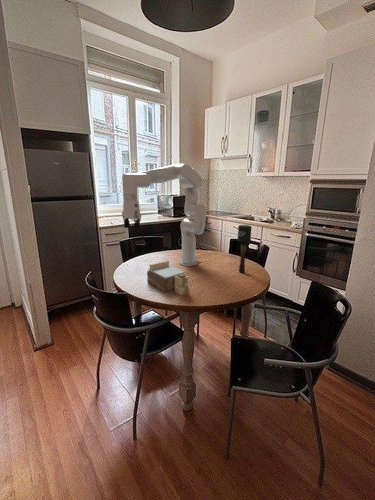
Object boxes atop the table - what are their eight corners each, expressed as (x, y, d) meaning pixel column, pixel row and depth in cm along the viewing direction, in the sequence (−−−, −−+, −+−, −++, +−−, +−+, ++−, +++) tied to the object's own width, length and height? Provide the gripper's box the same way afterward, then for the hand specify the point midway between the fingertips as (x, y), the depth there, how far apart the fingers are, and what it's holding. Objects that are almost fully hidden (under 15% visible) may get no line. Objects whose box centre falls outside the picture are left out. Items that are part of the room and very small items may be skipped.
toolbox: (167, 277, 152) (167, 266, 150) (185, 286, 139) (185, 274, 138) (147, 282, 143) (147, 271, 141) (164, 292, 131) (164, 280, 129)
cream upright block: (182, 289, 135) (182, 272, 132) (188, 292, 131) (188, 275, 128) (174, 292, 132) (174, 274, 129) (180, 295, 128) (180, 277, 125)
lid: (166, 266, 149) (166, 259, 148) (184, 273, 137) (184, 266, 136) (148, 270, 141) (148, 263, 140) (165, 279, 129) (165, 272, 128)
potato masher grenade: (233, 270, 165) (236, 224, 157) (246, 269, 166) (249, 224, 158) (236, 274, 157) (240, 227, 149) (250, 274, 158) (254, 227, 150)
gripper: (145, 198, 132) (146, 230, 137) (127, 196, 144) (128, 226, 148) (133, 198, 127) (135, 232, 131) (115, 196, 138) (117, 227, 143)
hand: (131, 228), depth 140 cm, fingers open, 9 cm apart
